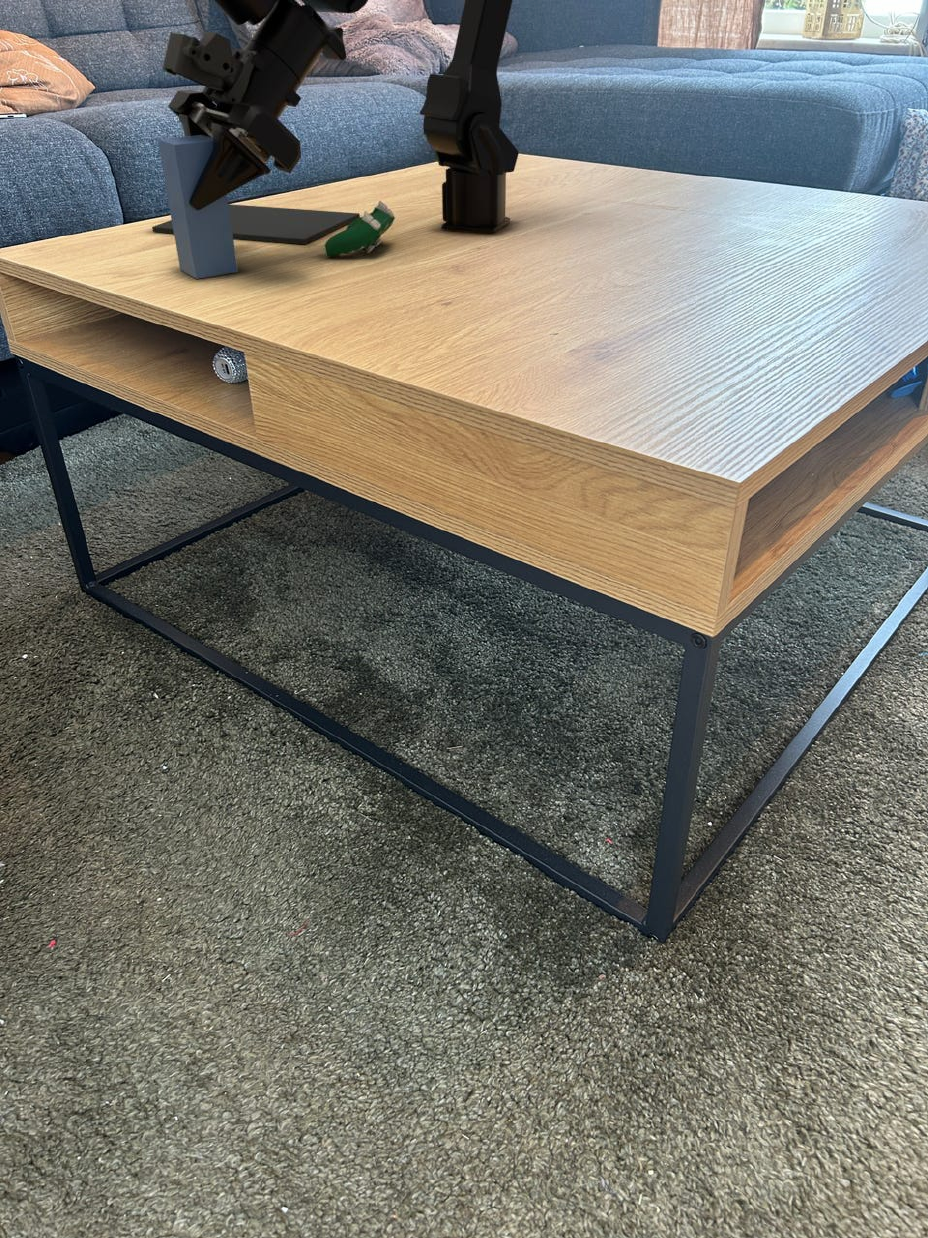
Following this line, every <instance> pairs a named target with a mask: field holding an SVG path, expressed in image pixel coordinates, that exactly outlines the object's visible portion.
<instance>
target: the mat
mask: <svg viewBox="0 0 928 1238" xmlns="http://www.w3.org/2000/svg"><path fill="white" fill-rule="evenodd" d="M228 206H229V213H230V220H231V227H232V234H233V240H244V241H245V240H246V241H257V242H268V243H280V244H281V243H282V244H294V245H307V244H309V243H311V242H314V241H315V240H318V239H319V238H322V237H324V236H326V235H328V234H331V233H333V232H335V231H337V230H338V229H341V228H343V227H345V226H348V225H349V224H350V223H351V222H353V221H354V220H356V219H358V218H361V217H360V213H358V212H343V211H330V210H318V209H317V210H316V209H300V208H288V207H287V208H286V207H274V206H272V207H271V206H259V205H258V206H257V205H244V204H231V203H228ZM151 227H152V228H151V229H152V232H153V233H157V234H159V233H160V234H171V235H174V231H173V225H172V219H171V220H167V221H165V222H162V223H159V224H155V225H153V226H151Z"/></svg>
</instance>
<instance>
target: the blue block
mask: <svg viewBox="0 0 928 1238" xmlns="http://www.w3.org/2000/svg"><path fill="white" fill-rule="evenodd" d="M157 144H158V150H159V155H160V156H159V157H160V161H161V167H162V173H163V178H164V183H165V189H166V196H167V201H168V208H169V213H170V219H171V220H172V225H173V231H174V234H173V237H174V241H175V242H174V243H175V247H176V253H177V254H176V255H177V260H178V265H179V271H181V272H183V273H185V274H187V275H189V276H190V277H192V278H194V279H195V280H199V279H206V278H212V277H217V276H218V277H219V276H222V275H229V274H235V273H238V272H239V271H238V263H237V257H236V249H235V242H234V239H233V234H232V227H231V220H230V213H229V206H228V204H229V200H228V194H227V195H225V196H223V197H221V198H220V199H218V200H216V201H215V202H213V203H211V204H209V205H208V206H206V207H204V208H203V209H201V210H196V209H195V208H194V207H192V206H191V205H190V204H189V201H190V198H191V196H192V194H193V191H194V189H195V187H196V184H197V182H198V180H199V178H200V176H201V174H202V172H203V170H204V168H205V166H206V164H207V162H208V160H209V157H210V155H211V153H212V151H213V138H210V137H207V136H203V135H195V136H185V135H184V136H175V137H166V138H164V137H163V138H158V139H157Z"/></svg>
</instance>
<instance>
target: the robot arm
mask: <svg viewBox="0 0 928 1238" xmlns="http://www.w3.org/2000/svg"><path fill="white" fill-rule="evenodd" d="M300 1H301V2H302V3H303V4H302V5H301V4H300V3H299V2H298V1H297V0H212V2H213V3H214V4H215V5H216V6H217V7H218V8H219V9H220V10H221V11H222V12H223V13H224V14H225V15H226V16H227V17H228V18H229V19H230V20H231V21H232V22H233V23H234V25H236V26H242V25H244V24H245V23H249V24H250V25H251V26H257V25H259V24H260V25H259V27H258V28H257V30H256V31H255V33H254V34H253V35H252V37H251V38H250V40H249V42H248V43H247V44H246V46H245V48H244V49H239V48H236V49H232V45H231V39H229V38H228V37H226V36H224V35H221V34H219V33H218V32H215V31H214V32H212V31H207V32H206V33H205V34H204V36H202V37H201V39H200V40H199V38H197V37H195V36H191V35H187V34H184V33H176V32H170V33H169V37H168V43H167V47H166V51H165V56H164V60H163V64H162V70H163V71H164V72H166V73H168V74H170V75H173V76H176V75H177V76H180V77H183V78H185V79H187V80H189V81H191V82H193V83H196V84H198V85H201V86H203V90H202V91H198V90H193V89H183V90H182V89H180V90H177V91H176V93H175V94H174V96H173V97H172V99H171V101H170V102H169V103H168V105H167V107H168V109H169V111H171V112H172V113H173V114H174V115H175V116H176V117H178V121H179V123H180V124H181V126H182V130H183V131H182V132H183V134H184V137H185V136H195V135H203V136H207V137H210V138H213V151H212V153H211V155H210V157H209V160H208V162H207V164H206V166H205V168H204V170H203V172H202V174H201V176H200V178H199V180H198V182H197V184H196V187H195V189H194V191H193V194H192V196H191V198H190V201H189V204H190V205H191V206H192V207H194V208H195V209H196V210H201V209H203V208H204V207H206V206H208V205H209V204H211V203H213V202H215V201H216V200H218V199H220V198H221V197H223V196H225V195H227V196H228V194H230V193H232V192H234V191H236V190H237V189H239V188H241V187H243V186H244V185H245V186H246V185H247V184H248V183H250V182H252V181H254V180H256V179H258V178H260V177H261V176H264V175H269V174H270V173H271V172H272V170H271V168H270V167H269V166H268V165H266V164H267V163H268V161H269V159H270V158H271V157H272V158H274V160H273V166H274V167H275V168H276V169H277V170H278V171H281V172H285V173H288V174H291V173H292V172H293V170H294V169H295V167H296V165H297V164H298V162H299V161H300V159H301V158H302V149H301V140H299V138H298V137H296V135H295V134H293V133H292V132H291V131H290V130H289V128H288V127H287V126H285V124H284V123H283V122H282V121H281V120H279V119H280V117H281V116H282V114H283V112H284V111H285V110H286V108H287V106H288V107H293V108H296V107H297V106H298V104H299V103H300V102H301V100H302V97H301V96H300V95H299V94H298V93H297V91H298V90H299V88H300V86H301V85H302V83H303V82H304V81H305V79H306V77H307V76H308V75H309V73H310V71H311V70H312V68H313V67H314V66H315V64H316V62H318V59H319V58H320V56H321V55H322V56H323V57H324V58H326V59H328V60H337V61H345V60H346V59H347V51H346V45H345V42H344V29H343V28H342V27H341V26H337V27H336V26H329V24H327V22H326V21H325V20H324V19H323V18H322V17H321V15H320V14H319V13H330V14H331V13H333V14H334V13H336V14H354V13H357V12H359V11H360V10H361V9H362V8H364V7H365V6H366V4H367V3H368V2H369V0H300ZM513 2H514V0H464V3H463V10H462V13H461V18H460V23H459V28H458V33H457V37H456V41H455V46H454V52H453V56H452V59H451V61H450V63H449V65H448V66H447V68H446V69H445V71H444V72H443V74H440V73H439V74H438V73H430V74H429V75H428V79H427V83H426V93H425V94H426V95H425V100H424V103H423V106H422V107H421V109H420V111H419V115H420V116H421V115H422V116H424V117H423V123H422V129H423V134H424V136H425V137H426V140H427V142H428V144H429V145H430V147H432V149H433V150H434V154H435V157H436V160H437V163H438V166H439V167H447V168H446V169H445V181H444V182H442V184H441V203H442V204H441V209H442V211H441V214H442V215H441V216H442V221H443V223H441V225H440V229H441V230H445V231H457V232H458V231H460V232H473V233H488V234H493V233H496V232H498V231H499V230H500V229H503V227H505V226H506V225H508V224H509V223H510V222H511V217H508V216H506V206H507V205H506V203H507V201H506V195H507V194H506V193H507V174H508V173H513V172H514V171H515V169H516V165H517V161H518V158H519V154H520V153H519V150H518V149H517V148H516V146H515V145H514V143H513V142H512V141H511V140H510V139H509V137H508V136H507V135H506V133H504V131H503V129H501V127H500V126H501V117H502V108H503V101H502V96H501V89H500V84H499V79H498V66H499V63H500V59H501V55H502V54H501V53H502V49H503V46H504V45H503V44H504V41H505V37H506V33H507V32H506V31H507V28H508V23H509V19H510V16H511V10H512V6H513Z"/></svg>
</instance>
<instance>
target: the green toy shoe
mask: <svg viewBox="0 0 928 1238" xmlns="http://www.w3.org/2000/svg"><path fill="white" fill-rule="evenodd" d="M395 218H396V217H395V214H394V212H393V211H392V210H391V208H388V205H387V204H385V203H384V202H382V201H381V200H379V201H378V204H377V205H376V206H375V207H374V209H373V211H372V212H370V213H369V212H368V211H367V210H364V212H363V216H361V217H360V218H358V219H356V220H354V221H353V222H351V223H349V224H347V225H346V226H347V227H346V228H345V229H343V230H342V231H340V232H337V233H336V234H334V235H332V236H330V237H329V238H328V239H327V240H326V241H325V243H324V251H325V255H326V256H327V257H329V258H337V257H343V256H346V255H351V254H354V253H356V252H359V251H361V252H363V253H365V252H366V253H367V254H370V253H371V252H372V251H373V249H375V247H378V246H379V245H380V243H382V241H383V239H382V238H381V237H382V235H383V234H385V233H386V232H387V231H388V230H389V229H390V228H391V227H392V225H393V224H394V221H395Z"/></svg>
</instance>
